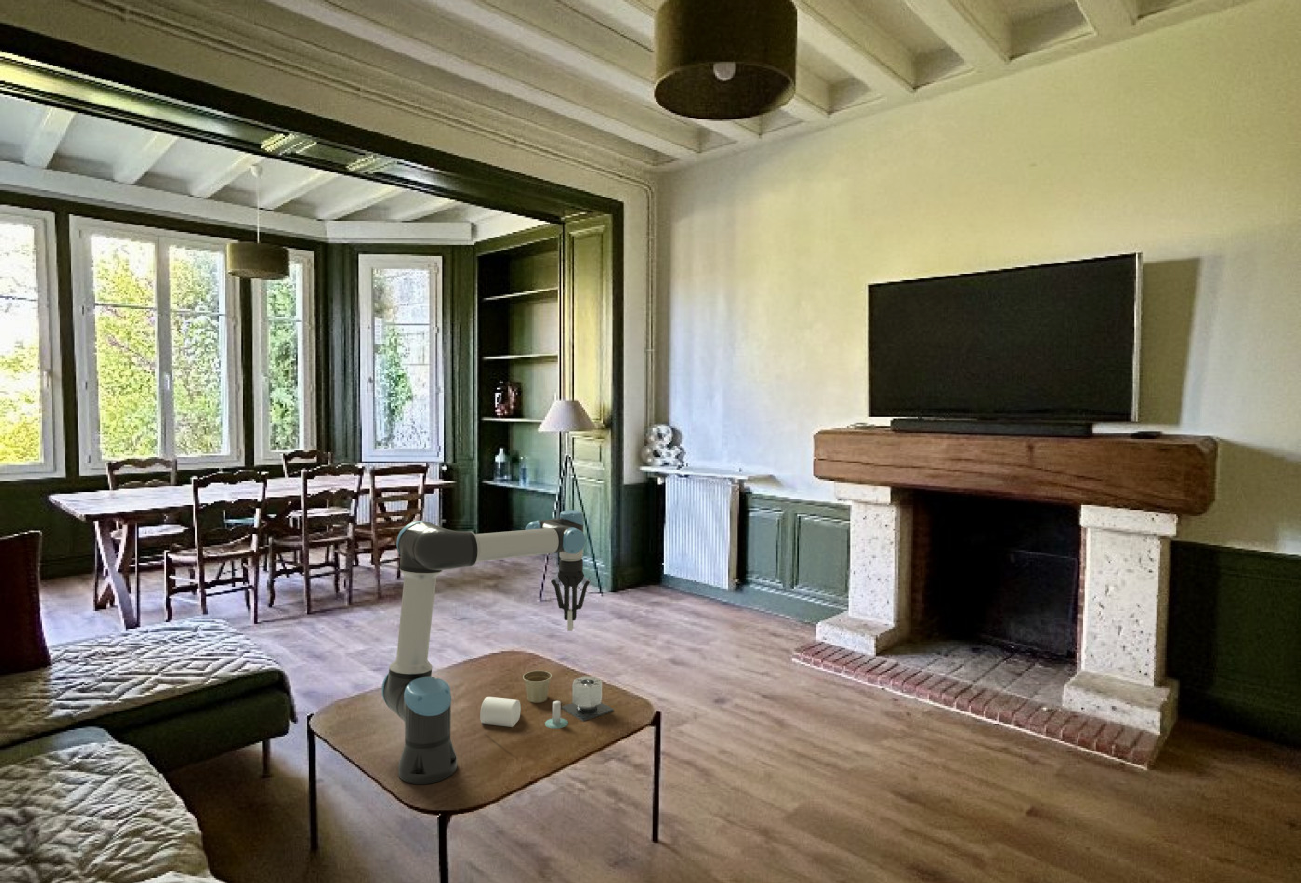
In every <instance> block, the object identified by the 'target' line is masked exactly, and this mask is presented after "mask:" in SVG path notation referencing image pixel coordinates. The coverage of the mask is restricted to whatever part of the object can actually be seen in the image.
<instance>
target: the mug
mask: <svg viewBox="0 0 1301 883" xmlns="http://www.w3.org/2000/svg"><path fill="white" fill-rule="evenodd" d="M521 707H522V706H521V701H520V700H518V699H512V698H504V697H503V698H502V697H494V696H486V697H485V698H484V699H483V701H482V704H481V707H480V713H479V717H480V722H481V724H483V725H494V726H501V727H511V728H513V727H514V726H515V725H516V724H517V723H518V721H520V717H521Z"/></svg>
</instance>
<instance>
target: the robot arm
mask: <svg viewBox="0 0 1301 883" xmlns="http://www.w3.org/2000/svg"><path fill="white" fill-rule="evenodd" d="M584 527H585V526H584V516H583V513H582V512H581V511H579V510H572V509H571V510H563V511H561V512H560V514H559V517H558V518H555V519H554V518H553V519H543V520H536V521H531V522H529V523H527V525H526V526H525V529H521V530H511V531H510V530H509V531H499V532H498V531H496V532H487V533H486V532H484V533H475V532H473V531H471V530H468V531H461V530H460V531H458V530H452V529H447V528H444V527H441V526H439V525H436V524H435V523H433V522H430V521H424V520H423V521H422V520H416V521H412V522H409V523H408V524H407V525H405V526H404V527H403V528H402V529H401V530H400V531H399V533H398V535H397V538H396V541H395V545H396V549H397V551H398V552H397V553H398V554H399V555H400V561H399V571H400V573H402V575H403V576H404V578H403V588H402V589H403V590H402V596H401V598H402V599H401V609H400V617H399V626H398V627H399V628H398V635H397V647H396V655H395V656H396V657H395V660H394V661H393V662H391V663H390V665H389V669H388V673H387V674H386V675H385V676H384V678H383V680H382V683H381V688H380V689H381V690H380V691H381V692H380V693H381V696H382V700H383V701H384V703H385V705H386V706H387V707H388V709H390V710H391V711H392V712H394V714H396V715H397V716H398V717H399V718H400V719H401V720H402V721H403V722H404V747H403V750H402V752H401V756H400V758H399V762H398V765H397V766H398V767H397V774H398V777H399V779H400V780H401V781H403V782H405V783H408V784H414V785H427V784H434V783H437V782H440V781H443V780H445V779H447V778H450V776H452V775H453V774H454V773H455V772H456V771H457V769H458V757H457V753H456V751H455V749H454V748H455V747H454V745H453V742H452V739H451V722H452V720H451V719H452V718H451V714H452V713H451V709H452V707H451V706H452V702H451V701H452V695H451V694H452V693H451V689H450V688H451V687H450V685H449V683H448V682H446V681H445V679H443V678H442V679H441V678H440V677H434V676H433V664H432V663H431V662H430V661H429V649H430V641H431V633H432V632H431V630H432V620H433V611H434V602H435V592H436V582H437V577H438V576H439V575H440V574H441V573H442V572H443V571H444V570H454V569H459V568H468V567H473V566H475V565H476V563H477V562H478V563H479V562H487V561H496V560H503V559H512V558H519V557H520V558H522V557H530V556H537V555H545V554H548V555H549V554H555V553H557V554H558V553H559V558H560V559H559V570H558V574H557V576H556V577H553V578H552V579H551V581H550V583H551V585H552V586H553V588H554V591H555V592H554V593H555V597H556V600H557V605H558V609H562V610H563V611H564V612H563V614H564V616H563V619H564V621H567V622H566V623H567V626H566V627H567V628H566V629H567V631H568V632H572V631H573V629H574V621H576V619H577V614H578V611H577V610H581V609H582V607H583V603H584V600H585V596H586V593H587V589H588V586H589V585H590V583H591V582H592V581H591V579H590V578H587V577H585V574H584V570H583V568H584V567H583V565H584V562H583V557H584V547H585V544H586V536H585V534H584ZM560 582H561V584H562V585H563V588H564V589H563V590H564V591H563V592H564V593H563V594H564V599H563V595H562V591H561V587H560ZM581 582H582V585H583V586H582V588H581V592H580V597H579V601H578V586H579V585H580V584H581ZM570 588H571V592H572V593H571V608H570Z"/></svg>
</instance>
